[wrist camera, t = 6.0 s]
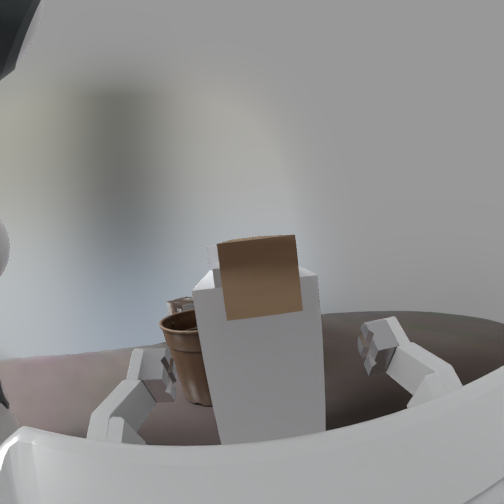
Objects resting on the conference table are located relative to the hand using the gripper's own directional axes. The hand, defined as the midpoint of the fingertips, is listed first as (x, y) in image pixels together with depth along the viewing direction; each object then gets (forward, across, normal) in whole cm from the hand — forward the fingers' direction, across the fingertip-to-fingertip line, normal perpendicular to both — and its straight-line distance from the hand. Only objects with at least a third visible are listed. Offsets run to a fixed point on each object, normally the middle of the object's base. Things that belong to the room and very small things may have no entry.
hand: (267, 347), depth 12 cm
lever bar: (+12, 0, +6) cm, 14 cm away
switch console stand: (+4, 0, +31) cm, 32 cm away
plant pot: (+24, +9, +43) cm, 50 cm away
